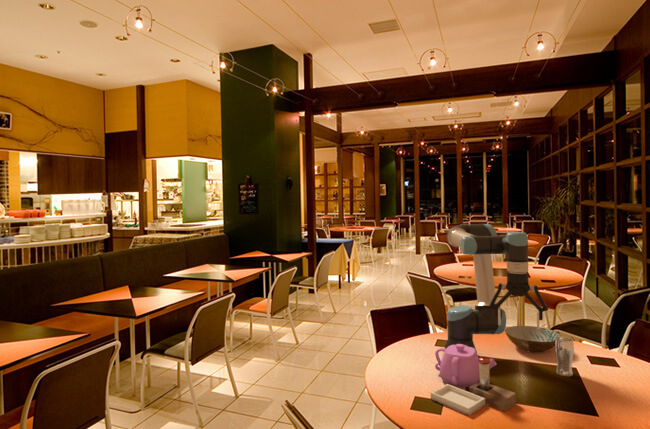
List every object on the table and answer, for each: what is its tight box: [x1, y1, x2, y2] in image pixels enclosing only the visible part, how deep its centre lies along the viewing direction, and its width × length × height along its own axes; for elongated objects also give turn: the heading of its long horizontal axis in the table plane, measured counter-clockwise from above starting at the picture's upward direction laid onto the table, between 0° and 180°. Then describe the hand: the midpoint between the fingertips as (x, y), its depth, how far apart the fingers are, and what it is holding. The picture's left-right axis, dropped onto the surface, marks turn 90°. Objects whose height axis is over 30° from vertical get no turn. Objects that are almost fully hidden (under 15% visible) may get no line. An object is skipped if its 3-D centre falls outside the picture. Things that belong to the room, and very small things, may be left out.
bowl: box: [504, 325, 562, 354], centre depth 201 cm, size 25×25×8 cm
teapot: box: [434, 344, 497, 388], centre depth 170 cm, size 19×21×14 cm
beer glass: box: [554, 335, 575, 377], centre depth 171 cm, size 7×7×15 cm
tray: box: [430, 383, 486, 416], centre depth 150 cm, size 16×11×2 cm
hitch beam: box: [468, 382, 517, 412], centre depth 150 cm, size 14×8×4 cm, turn 39°
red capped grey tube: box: [478, 356, 491, 391], centre depth 152 cm, size 4×4×15 cm
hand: (518, 326), depth 156 cm, fingers open, 13 cm apart
